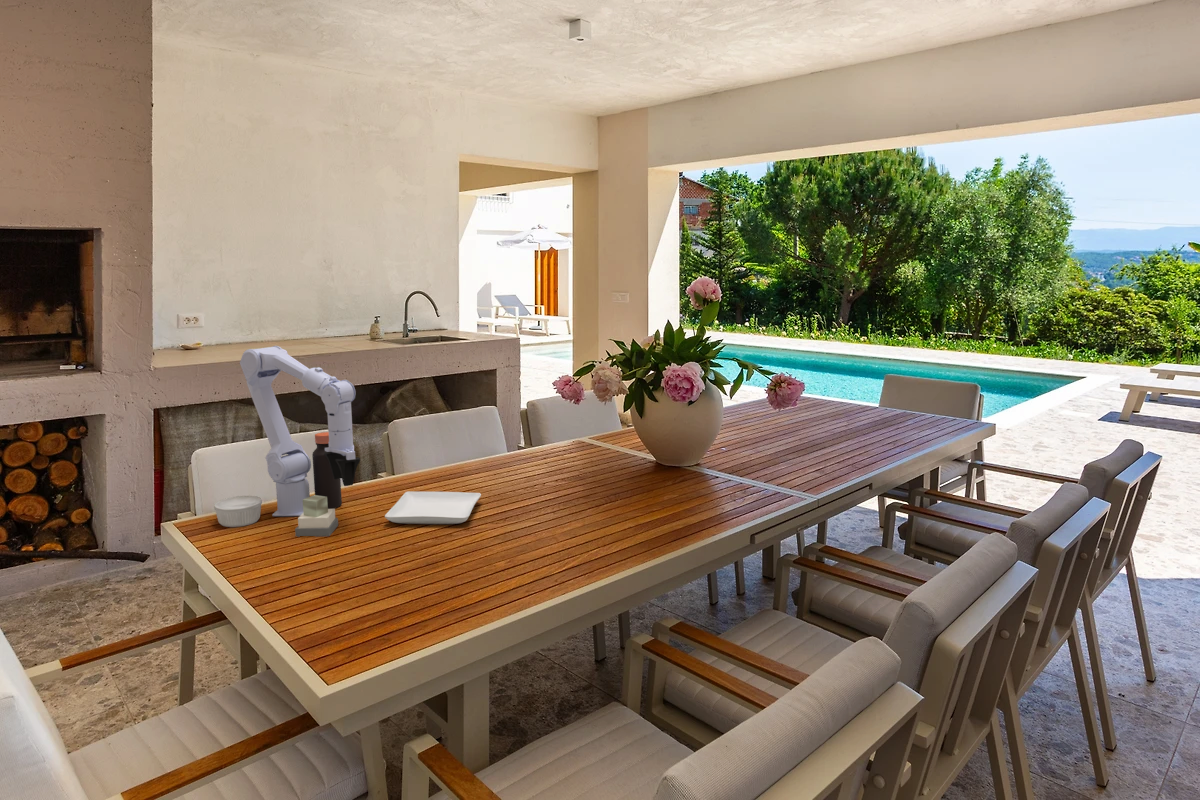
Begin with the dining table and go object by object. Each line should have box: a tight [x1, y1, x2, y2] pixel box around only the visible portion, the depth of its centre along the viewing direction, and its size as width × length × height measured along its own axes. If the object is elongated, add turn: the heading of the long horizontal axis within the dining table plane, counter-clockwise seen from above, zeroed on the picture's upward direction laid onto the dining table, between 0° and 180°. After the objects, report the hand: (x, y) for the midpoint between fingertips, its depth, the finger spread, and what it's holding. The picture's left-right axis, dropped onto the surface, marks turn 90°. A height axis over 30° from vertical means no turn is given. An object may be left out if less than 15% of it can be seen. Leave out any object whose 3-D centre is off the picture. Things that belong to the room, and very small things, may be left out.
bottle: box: [311, 431, 343, 509], centre depth 211 cm, size 7×7×20 cm
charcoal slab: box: [294, 517, 339, 538], centre depth 194 cm, size 8×8×2 cm
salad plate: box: [384, 491, 482, 525], centre depth 206 cm, size 21×21×3 cm
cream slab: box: [297, 508, 336, 528], centre depth 193 cm, size 7×7×2 cm
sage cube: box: [303, 494, 328, 517], centre depth 192 cm, size 4×4×4 cm
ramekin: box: [213, 495, 263, 528], centre depth 200 cm, size 11×11×5 cm
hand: (343, 481), depth 199 cm, fingers open, 7 cm apart
